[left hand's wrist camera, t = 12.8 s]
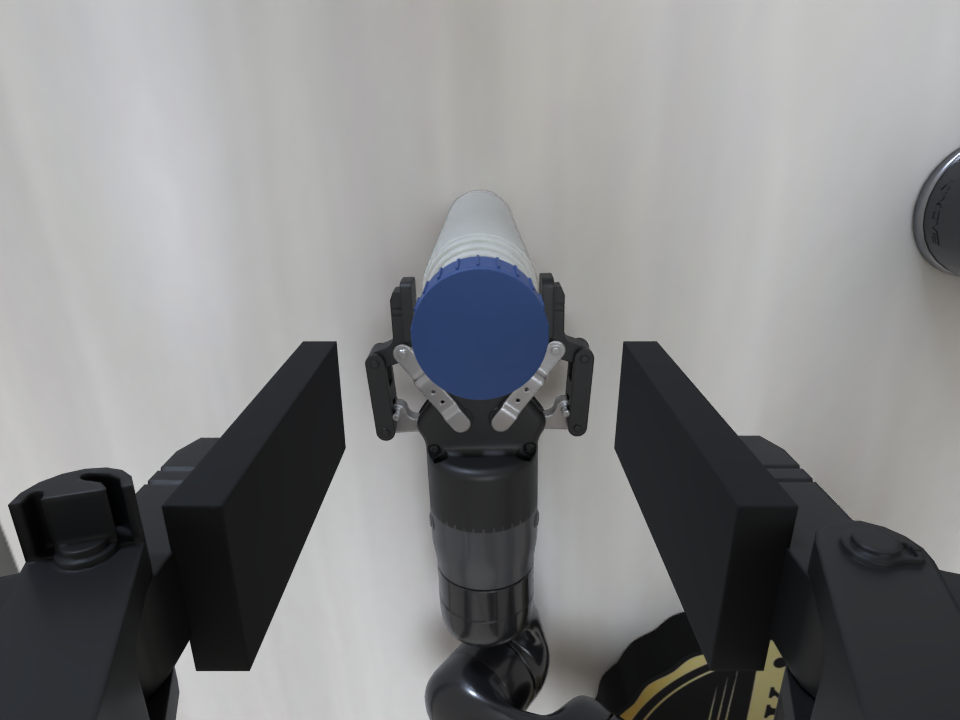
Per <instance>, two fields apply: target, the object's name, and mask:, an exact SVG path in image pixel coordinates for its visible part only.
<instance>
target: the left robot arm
mask: <svg viewBox="0 0 960 720" xmlns="http://www.w3.org/2000/svg"><path fill="white" fill-rule="evenodd" d="M345 448H346V446H345V435H344V423H343V411H342V400H341V388H340V376H339V365H338V353H337V341H303V342H302V343H301V345H300V346H299V347H298V348H297V349H296V350H295V352H294V353H293V354H292V355H291V356H290V357H289V359H288V360H287V361H286V362H285V363H284V364H283V366H282V367H281V368H280V369H279V370H278V371H277V372H276V374H275V375H274V376H273V377H272V378H271V379H270V381H269V382H268V383H267V384H266V385H265V386H264V388H263V389H262V390H261V391H260V392H259V393H258V395H257V396H256V397H255V398H254V399H253V400H252V402H251V403H250V404H249V405H248V406H247V407H246V409H245V410H244V411H243V412H242V413H241V414H240V415H239V417H238V418H237V419H236V420H235V421H234V422H233V424H232V425H231V426H230V427H229V428H228V429H227V431H226V432H225V433H224V434H223V435H222V436H221V438H200V439H198V440H196V441H194V442H193V443H191V444H189V445H187V446H185V447H184V448H182V449H180V450H178V451H176V452H175V454H174V455H173V456H172V457H171V458H170V459H169V460H168V461H167V462H166V463H165V464H164V465H163V466H162V467H161V471H157V472H156V473H155V474H154V475H153V476H152V477H151V478H150V479H149V481H148V485H144V486H143V487H142V488H141V489H140V490H139V491H138V492H137V493H136V494H135V490H134V485H133V481H132V477H131V476H130V475H129V474H127V473H126V472H124V471H123V470H119V469H112V468H91V469H82V470H78V471H73V472H69V473H64V474H61V475H58V476H55V477H53V478H50V479H47V480H45V481H42V482H39V483H37V484H36V485H34V486H32V487H30V488H29V489H27V490H25V491H23V492H22V493H20V494H19V495H18V496H17V497H16V498H15V499H14V500H13V501H12V502H11V503H10V504H9V505H8V507H9V510H10V513H11V516H12V520H13V523H14V526H15V529H16V532H17V536H18V539H19V542H20V545H21V548H22V552H23V555H24V558H25V561H26V563H25V565H24V567H23V568H22V570H21V572H20V573H18V574H14V575H8V576H3V577H0V720H176V713H177V706H178V698H179V687H178V680H177V675H176V671H175V664H176V663H177V661H178V659H179V657H180V656H181V654H182V652H183V650H184V649H185V647H186V645H187V643H188V642H189V640H190V644H191V649H192V654H193V658H194V663H195V668H196V671H250V669H251V667H252V664H253V662H254V660H255V657H256V655H257V653H258V650H259V648H260V646H261V643H262V641H263V639H264V636H265V634H266V632H267V629H268V627H269V625H270V623H271V620H272V618H273V616H274V613H275V611H276V609H277V606H278V604H279V602H280V599H281V597H282V595H283V592H284V590H285V588H286V585H287V583H288V581H289V578H290V576H291V574H292V571H293V569H294V567H295V564H296V562H297V560H298V558H299V555H300V553H301V551H302V548H303V546H304V544H305V541H306V539H307V537H308V534H309V532H310V530H311V527H312V525H313V523H314V520H315V518H316V516H317V513H318V511H319V509H320V506H321V504H322V502H323V499H324V497H325V495H326V492H327V490H328V488H329V486H330V483H331V481H332V479H333V476H334V474H335V472H336V469H337V467H338V465H339V462H340V460H341V458H342V455H343V453H344V451H345ZM614 448H615V451H616V453H617V455H618V458H619V460H620V462H621V465H622V467H623V469H624V472H625V474H626V476H627V479H628V481H629V483H630V486H631V488H632V490H633V492H634V495H635V497H636V499H637V502H638V504H639V506H640V509H641V511H642V513H643V516H644V518H645V520H646V523H647V525H648V527H649V530H650V532H651V534H652V537H653V539H654V541H655V544H656V546H657V548H658V551H659V553H660V555H661V558H662V560H663V562H664V564H665V567H666V569H667V571H668V574H669V576H670V578H671V581H672V583H673V585H674V588H675V590H676V592H677V595H678V597H679V599H680V602H681V604H682V606H683V609H684V611H685V613H686V616H687V618H688V620H689V623H690V625H691V627H692V629H693V632H694V634H695V636H696V639H697V641H698V643H699V646H700V648H701V650H702V653H703V655H704V657H705V660H706V662H707V664H708V667H709V669H710V671H764V668H765V663H766V658H767V654H768V649H769V644H770V639H772V640H773V642H774V644H775V645H776V647H777V649H778V651H779V652H780V654H781V656H782V658H783V659H784V661H785V663H786V666H785V671H784V675H783V680H782V684H781V688H780V693H779V697H778V702H777V706H776V711H775V715H774V719H773V720H960V574H956V573H951V572H946V571H942V570H939V569H938V567H937V565H936V564H935V562H934V560H933V559H932V558H931V557H930V556H929V555H928V553H927V552H926V551H925V550H924V549H923V548H922V547H920V546H919V545H917V544H916V543H914V542H913V541H911V540H910V539H908V538H907V537H905V536H903V535H901V534H899V533H896V532H894V531H892V530H890V529H887V528H885V527H882V526H878V525H874V524H871V523H867V522H863V521H853V520H852V519H851V518H850V517H849V516H848V515H847V514H846V513H845V512H844V511H843V510H842V509H841V508H840V507H839V506H838V505H837V504H836V503H835V501H834V500H833V499H832V498H831V497H830V496H829V495H828V494H827V493H826V492H825V491H824V490H823V489H822V488H821V487H820V486H819V485H818V484H817V483H816V482H813V481H812V478H811V477H810V476H809V475H808V474H807V473H806V472H805V471H804V470H803V469H800V467H799V466H800V465H799V464H798V463H797V462H796V461H795V460H794V459H793V458H792V457H791V456H790V455H789V454H788V453H787V452H786V451H785V450H784V449H782V448H780V447H779V446H777V445H775V444H773V443H772V442H770V441H768V440H766V439H764V438H763V437H761V436H738V435H737V434H736V433H735V432H734V431H733V429H732V428H731V427H730V426H729V425H728V424H727V422H726V421H725V420H724V419H723V418H722V417H721V415H720V414H719V413H718V412H717V411H716V410H715V409H714V407H713V406H712V405H711V404H710V403H709V402H708V400H707V399H706V398H705V397H704V396H703V395H702V393H701V392H700V391H699V390H698V389H697V388H696V386H695V385H694V384H693V383H692V382H691V381H690V379H689V378H688V377H687V376H686V375H685V374H684V372H683V371H682V370H681V369H680V368H679V367H678V366H677V364H676V363H675V362H674V361H673V360H672V359H671V357H670V356H669V355H668V354H667V353H666V352H665V350H664V349H663V348H662V347H661V346H660V345H659V343H658V342H657V341H623V353H622V365H621V376H620V388H619V400H618V411H617V423H616V435H615V446H614Z"/></svg>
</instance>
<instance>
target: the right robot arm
mask: <svg viewBox="0 0 960 720" xmlns="http://www.w3.org/2000/svg"><path fill="white" fill-rule="evenodd" d="M914 233H915V238H916V242H917V245H918V247H919V249H920V251H921V253H922V254H923V256H924V257H925V258H926V259H927V261H928V262H929V263H931V264H932V265H933V266H934V267H936V268H937V269H939V270H941V271H943V272H946V273H949V274H952V275H956V276H960V149H958V150H957V151H955V152H954V153H952V154H951V155H950V156H949V157H948V158H946V159H945V160H944V161H943V162H942V163H941V164H940V165H939V166H938V167H937V169H936V170H935V171H934V172H933V174H932V175H931V176H930V178H929V179H928V181H927V182H926V184H925V186H924V188H923V190H922V192H921V194H920V196H919V199H918V202H917V206H916V209H915V215H914ZM539 294H540V295H541V297H542V300H543V302H544V305H545V308H544V311H545V314H546V317H547V319H548V322H549V326H550V327H549V342H548V347H547V352H546V355H545V357H544V360H543V362H542V364H541V366H540V367H539V369H538V370H537V372H536V373H535V374H534V376H533V377H532V378H531V379H530V380H529V381H528V382H527V383H525V384H524V385H523V386H522V387H520V388H519V389H517V390H516V391H514V392H511V393H509V394H507V395H504V396H502V397H498V398H494V399H486V400H473V399H466V398H462V397H458V396H455V395H453V394H451V393H448V392H446V391H445V390H443V389H441V388H440V387H438V386H437V385H436V384H434V383H433V382H432V381H431V380H430V379H429V378H428V377H427V376H426V374H425V373H424V372H423V371H422V369H421V367H420V366H419V364H418V362H417V360H416V357H415V355H414V351H413V348H412V342H411V331H410V328H411V326H412V320H413V317H414V313H415V312H414V311H413V310H414V308H415V305H416V286H415V278H414V277H403V278H402V280H401V282H400V287H396V288H395V289H394V291H393V293H392V296H391V299H390V305H391V317H392V330H393V339H392V340H390V341H388V342H385V343H377V344H375V345H374V346H373V348H372V350H371V352H370V354H369V356H368V358H367V359H366V362H365V366H366V372H367V378H368V384H369V390H370V396H371V402H372V408H373V414H374V421H375V427H376V433H377V436H378V437H379V438H380V439H382V440H385V441H388V440H391V439H392V438H393V437H394V435H395V433H399V432H412V431H419V432H420V433H421V435H422V436H423V438H424V440H425V442H426V447H427V462H428V477H429V493H430V507H431V511H430V516H429V517H430V525H431V527H432V536H433V542H434V547H435V551H436V555H437V562H438V576H439V592H440V605H441V611H442V616H443V620H444V622H445V624H446V626H447V628H448V630H449V631H450V633H451V634H452V635H453V636H454V637H455V638H457V639H458V640H459V641H461V642H463V643H462V644H461V645H460V646H459V647H458V648H457V649H456V650H455V651H454V652H453V653H452V654H451V655H450V656H449V657H448V658H447V659H446V660H445V661H444V662H443V663H442V664H441V665H440V666H439V668H438V669H437V670H436V671H435V672H434V673H433V675H432V676H431V678H430V679H429V681H428V683H427V686H426V690H425V705H426V710H427V714H428V716H429V719H430V720H625V719H623V718H622V717H620V716H619V715H617V714H615V713H614V712H613V711H611V710H610V709H609V708H607V707H606V706H604V705H603V704H601V703H600V702H598V701H596V700H595V699H593V698H591V697H588V696H577V697H575V698H573V699H572V700H570V701H569V702H567V703H566V704H565V705H564V706H562V707H561V708H560V709H558V710H557V711H555V712H554V713H551V714H548V715H538V714H534V713H530V712H527V711H526V710H527V709H528V707H529V706H530V705H531V703H532V702H533V701H534V699H535V698H536V697H537V695H538V694H539V693H540V691H541V689H542V688H543V686H544V683H545V681H546V678H547V674H548V669H549V662H550V655H549V648H548V643H547V640H546V637H545V634H544V631H543V627H542V624H541V621H540V617H539V614H538V611H537V609H536V606H535V603H534V600H533V561H534V550H535V545H536V539H537V526H538V521H539V512H538V509H537V490H538V489H537V485H538V440H539V437H540V435H541V433H542V431H543V430H544V428H548V429H568V430H569V432H570V434H572V435H573V436H581V435H583V434H584V433H585V432H586V430H587V422H588V413H589V403H590V393H591V384H592V374H593V365H594V355H593V353H592V351H591V350H590V349H589V345H588V343H587V341H586V340H585V339H583V338H573V337H570V336H567V335H566V334H565V333H564V303H565V295H564V292H563V290H562V287H561V285H560V283H559V282H554V279H553V276H552V274H551V273H540V277H539ZM560 359H563V360H566V361H568V371H567V382H566V393H565V395H561V396H559V397H557V398H556V400H555V402H554V405H553V407H552V408H550V409H549V410H544V409H543V407H542V406H541V404H540V403H539V402H538V401H537V399H536V398H535V397H534V395H535V394H536V392H537V391H538V390H539V389H540V387H541V386H542V385H543V383H544V382H545V380H546V377H547V375H548V374H549V372H550V371H551V370H552V369H553V368H554V366H555V365H556V364H557V363H558V361H559V360H560ZM397 363H399V364H400V365H401V366H402V367H403V368H404V369H405V371H406V372H407V373H408V374H409V375H410V376H411V377H412V378H413V380H414V383H415V385H416V386H417V388H418V389H419V390H420V391H421V392H422V393H423V394H424V395H425V397H426V398H427V401H426V402H425V403H424V405H423V406H422V408H421V409H420V411H419V413H415V412H412V411H411V410H410V409H409V407H408V404H407V403H406V401H404V400H403V399H397V394H396V387H395V381H394V374H393V367H392V365H394V364H397Z"/></svg>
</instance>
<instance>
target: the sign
mask: <svg viewBox="0 0 960 720" xmlns="http://www.w3.org/2000/svg"><path fill="white" fill-rule="evenodd" d="M785 666H786V663H785V661H784V659H783V658H782V656H781V654H780V652H779V651H778V649H777V647H776V645H775V644H774V642H773V640H772V639H770V644H769V649H768V654H767V658H766V663H765V668H764V671H710V669H709V667H708V664H707V662H706V660H705V657H704V655H703V653H702V650H701V648H700V646H699V643H698V641H697V639H696V636H695V634H694V632H693V629H692V627H691V625H690V623H689V620H688V618H687V616H686V613H683V614H680V615H677V616H675V617H673V618H671V619H669V620H668V621H666V622H665V623H664V624H663V625H662V626H661V627H660V628H659V629H657V630H656V631H654V632H652V633H651V634H649V635H647V636H645V637H642V638H640V639H639V640H637V641H635V642H634V643H633V644H631V645H630V646H629V648H628V649H627V650H626V651H625V653H624V654H623V655H622V657H621V659H620V661H619V662H618V663H617V664H616V665H615V666H613V667H612V668H611V669H610V670H609V671H608V672H607V673H606V674H605V675H604V676H603V678H602V679H601V682H600V685H599V690H598V695H597V698H596V701H598V702H600V703H601V704H603V705H604V706H606V707H607V708H609V709H610V710H611V711H613V712H614V713H615V714H617V715H619V716H620V717H622V718H623V719H625V720H773V719H774V715H775V711H776V706H777V702H778V697H779V693H780V688H781V684H782V680H783V675H784V671H785Z"/></svg>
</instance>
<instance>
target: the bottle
mask: <svg viewBox="0 0 960 720" xmlns="http://www.w3.org/2000/svg"><path fill="white" fill-rule="evenodd" d="M477 255H479V256H486V257H492V258H496V257H499V259H500V260H503V261H505V262H508V263H510V264H512V265H513V266H514V265H516V266H517V268H518V269H519V270H520V271H522V272H523V273H524V274H525V275H526V276H527V277H528V278H529V277H530V278H531V279H532V282H533V285H534V287H535V288H536V290H537V292H538V283H537V278H536V274H535V271H534V268H533V265H532V263H531V260H530V258H529V256H528V253H527V251H526V248H525V246H524V243H523V241H522V238H521V236H520V233H519V231H518V228H517V226H516V224H515V221H514V219H513V216H512V214H511V211H510V209H509V207H508V205H507V204H506V203H505V201H504V200H503V199H502V198H500V197H499V196H498V195H496V194H494V193H492V192H489V191H484V190H476V191H471V192H468V193H466V194H464V195H462V196H461V197H460V198H458V199H457V200H456V201H455V203H454V204H453V205H452V207H451V209H450V211H449V214H448V216H447V219H446V221H445V224H444V226H443V229H442V231H441V233H440V236H439V238H438V241H437V243H436V246H435V248H434V251H433V253H432V256H431V258H430V261H429V263H428V265H427V268H426V270H425V274H424V277H423V283H422V292H423V290H424V287H425V284H426V282H427V281H430V280H431V278H432V277H433V276H434V275H435V274H436V273H437V272H438V271H439V269H440V268H441V267H442V268H444V267H445V266H447V265H448V264H450V263H452V262H454V261H457V259H458V258H460V259H463V258H467V257H475V256H477Z"/></svg>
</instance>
